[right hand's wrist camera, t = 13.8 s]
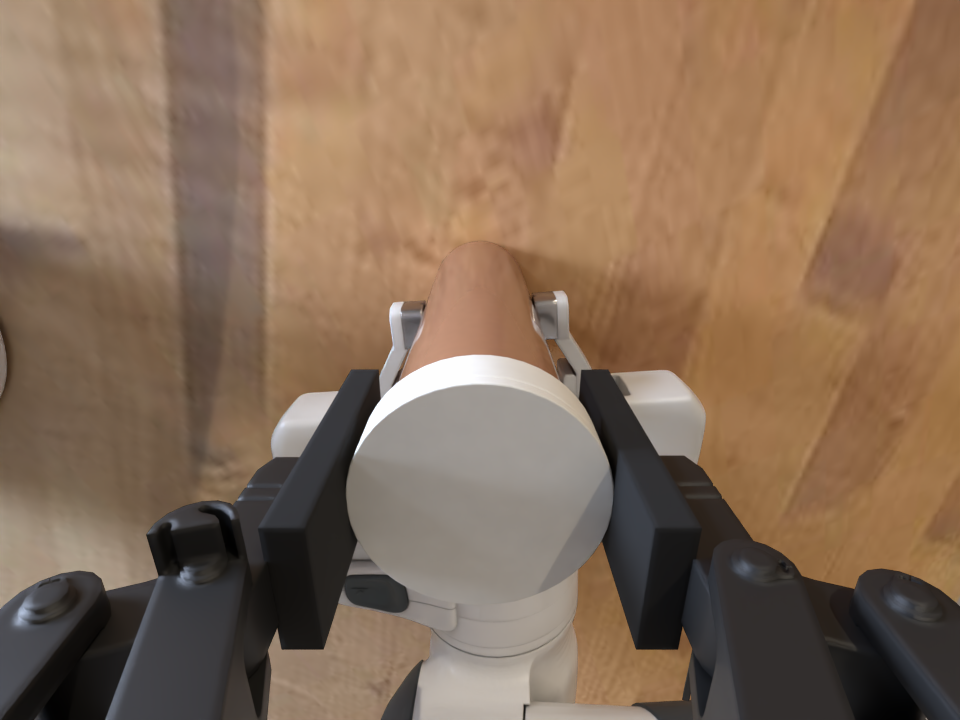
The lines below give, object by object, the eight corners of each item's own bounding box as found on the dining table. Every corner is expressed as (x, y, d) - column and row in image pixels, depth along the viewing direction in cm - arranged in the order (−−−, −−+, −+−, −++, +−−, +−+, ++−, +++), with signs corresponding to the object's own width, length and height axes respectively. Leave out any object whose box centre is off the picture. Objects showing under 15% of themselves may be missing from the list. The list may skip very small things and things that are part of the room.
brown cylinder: (537, 306, 29) (623, 535, 12) (459, 340, 30) (431, 605, 12) (501, 225, 28) (540, 352, 10) (420, 264, 28) (323, 445, 11)
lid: (630, 510, 13) (650, 556, 11) (428, 584, 14) (422, 635, 12) (544, 312, 11) (553, 336, 9) (315, 413, 12) (292, 449, 10)
